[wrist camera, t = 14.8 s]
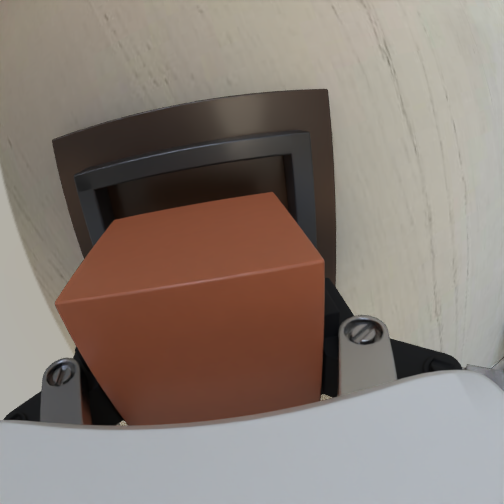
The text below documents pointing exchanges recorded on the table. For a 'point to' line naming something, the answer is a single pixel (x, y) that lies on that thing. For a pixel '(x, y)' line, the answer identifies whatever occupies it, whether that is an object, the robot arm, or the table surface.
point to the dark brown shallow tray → (206, 162)
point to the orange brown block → (201, 312)
